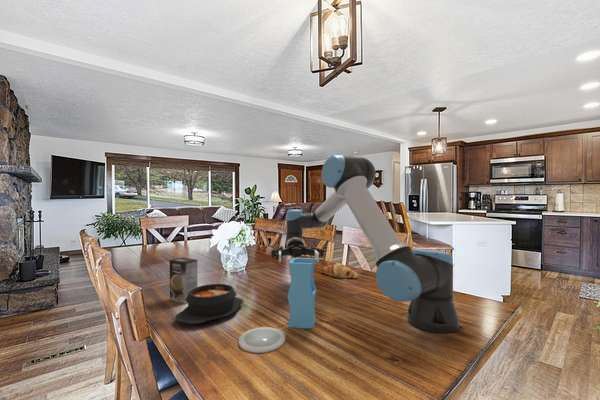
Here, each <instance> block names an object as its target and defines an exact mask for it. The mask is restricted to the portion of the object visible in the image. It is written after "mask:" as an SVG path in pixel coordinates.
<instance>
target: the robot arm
mask: <svg viewBox="0 0 600 400" xmlns="http://www.w3.org/2000/svg"><path fill="white" fill-rule="evenodd" d="M321 169H322V171H321V179H322V183H323V184H324V185H325V186H326V187H328V188H330V189H333V190H334V191H333V193H332V194H331V195H330V196H328V197H327V199H326V200H324V202H322V203H321V204H320V205H319V207H318V208H316V209H315V210H314V211H313V212H303V210H302V209H299V208H298V209H288V210H287V211H286V216H285V217H286V218H285V220H286V234H285V235H286V237H285V238H286V239H285V245H286V248H284V246H283V245H281V246H279V247H277V248H274V249H272V250H271V251H270V252H271V253H270V255H271V258H275V260H278V263H281V262H282V257H285V256H291V257H293V258H301V256H311V257H314V258H316V260H315V262H320V258H321V257H324V255H325V254H324V252H325V250H324V249H322V248H318V247H314V246H312V245H310V246H309V247H308V246H305V244H304V241H303V232H304V231H303V230H309V229H321V228H326V227H327V226H329V223H330V218H332V217H333V216H334V215H335V214H337V213H338V212H339V211H340V210H341V209H342V208H343V207H345V206H346V205H347V206H348V207H349V209H350V211H351V213H352V215H353V217H354V218H355V220H356V221H357V223H358V225H359V227H360V229H361V231H362V233H363V234H364V237H365V238H366V239H367V241H368V243H369V245H370V247H371V248H372V251H373V252H374V255H376V259H375V262H374V265H376V270H375V275H376V277H375V281H376V283H377V286H378V288H379V291H380V292H381V293H382V294H384V295H385V296H386V297H387V298H388V299H390V300H393V301H395V302H398V303H402V302H408V301H409V302H410V303H409V306H408V308H407V311H406V312H407V313H406V314H407V317H406V319H407V321H408V323H410V325H412V326H414V327H415V328H418V329H422V330H424V331H428V332H432V333H438V334H439V333H441V334H446V333H447V334H448V333H454V332H457V331H458V330H460V318H459V314H458V311H457V309H456V305H455V303H454V262H453V256H452V254H450V252H447V251H442V250H441V251H440V250H433V249H427V248H426V249H424V248H414V249H412V248H411V246H410V245H408V244H405V243H402V242H401V240H400V238H399V236H398V235H397V233H396V232H395V230H394V229H393V227H392V226H391V224H390V222H389V221H388V219H387V217H386V216H385V214H384V213H383V211H382V210H381V208H380V206H379V205H378V203H377V201H376V199H374V197H373V195H372V194H371V192H370V191H369V188H370V187H371V186H372V185H373V183H374V181H375V179H376V175H377V174H376V168H375V165H374V164H373V163H372V162H371V161H370V160H369V159H367V158H365V157H362V156H350V155H342V154H338V155H337V154H334V155H333V154H332V155H330V156H328V157H327V159H326V160H325V162H324V163H323V165H322V168H321Z"/></svg>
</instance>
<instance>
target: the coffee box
mask: <svg viewBox="0 0 600 400" xmlns="http://www.w3.org/2000/svg"><path fill="white" fill-rule="evenodd" d="M196 287H198V259H196V258H195V259H194V258H189V257H178V258H177V257H176V258H172V259H169V301H172V302H175V303H178V304H179V303H180V304H184V305H186V304H187V305H188V303H187V302H186V300H185V299H186V297H187V296H188V293H189V291H190V290H192V289H194V288H196Z"/></svg>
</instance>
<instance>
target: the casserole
mask: <svg viewBox="0 0 600 400" xmlns="http://www.w3.org/2000/svg"><path fill="white" fill-rule="evenodd" d="M185 300H186V302H187V305H188V306H186V307H185V308H184V309H183V310H182V311H180V312H179V313H177V314H176V315H175V316H174V319H175V320H176V321H177V322H180V323H183V324H190V325H199V324H204V323H206V322H208V321H209V322H210V321H213V320H218V319H221V318H225V317H228V316H230V315H232V314H233V313H235V312H236V311H237V310H238V309H239V308H240V306H241V305H242V304H244V302H245V301H244V300H243V298H240V297H237V292H236V291H235V288H234V287H233V286H232V285H229V284H227V283H225V284H224V283H211V284H210V283H209V284H204V285H200V286H197V287H196V288H194V289H192V290H190V291H189V293H188V296H187V297H186V299H185Z"/></svg>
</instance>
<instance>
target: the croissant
mask: <svg viewBox="0 0 600 400" xmlns="http://www.w3.org/2000/svg"><path fill="white" fill-rule="evenodd" d="M320 271H321V272H322V273H324V275H326V276H328V277H332V278H337V279H357V278H359V274H358V273H357V272H356V271H355V270H353V269H351V267H350V266H345V265H344V264H342V263H341V262H340V263H339V262H334V263H333V264H330V265H328V266H322V267H320Z"/></svg>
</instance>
